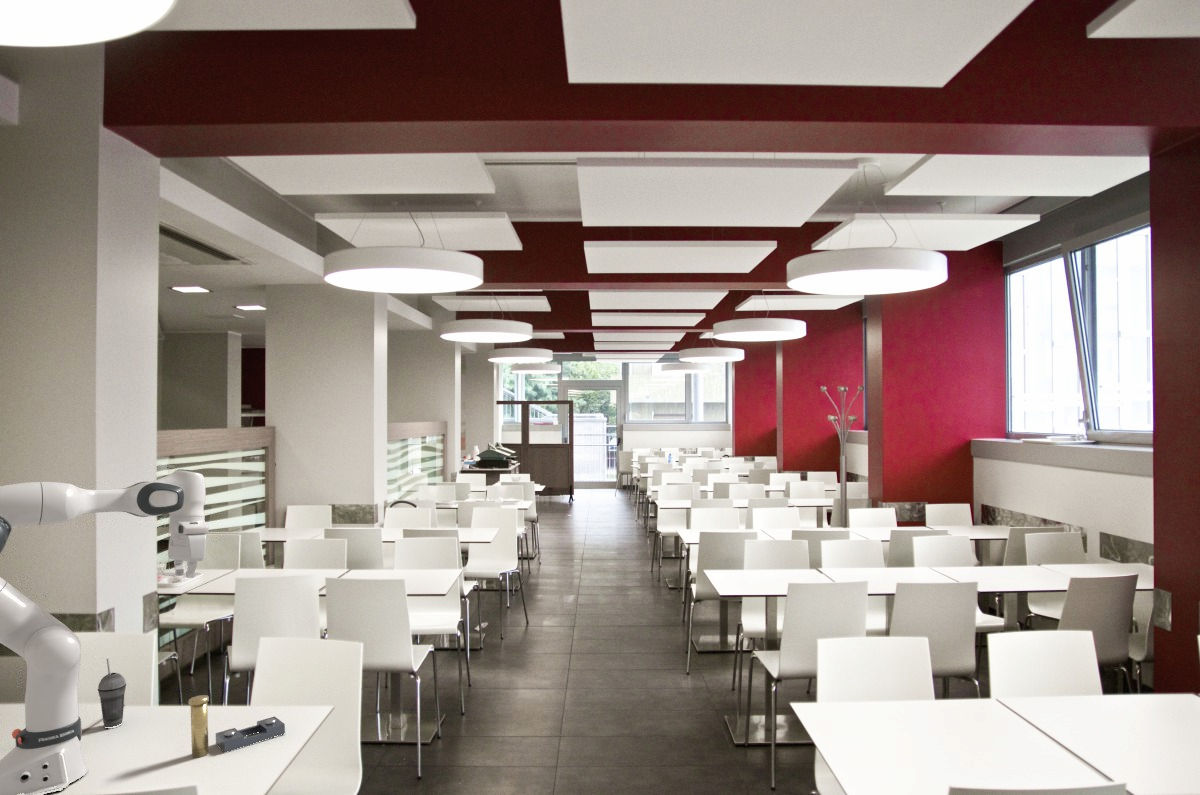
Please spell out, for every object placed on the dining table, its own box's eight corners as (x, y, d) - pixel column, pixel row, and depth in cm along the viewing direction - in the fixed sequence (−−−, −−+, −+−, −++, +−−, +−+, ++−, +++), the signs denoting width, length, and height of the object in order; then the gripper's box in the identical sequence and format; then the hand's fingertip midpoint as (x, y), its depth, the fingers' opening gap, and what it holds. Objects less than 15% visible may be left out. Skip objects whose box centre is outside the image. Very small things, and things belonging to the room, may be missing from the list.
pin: (193, 760, 204) (191, 703, 205) (188, 754, 208) (186, 698, 208) (212, 754, 208) (210, 698, 208) (207, 748, 211) (205, 693, 212)
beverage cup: (117, 730, 227) (115, 662, 227) (92, 731, 227) (91, 662, 227) (132, 720, 234) (131, 654, 234) (109, 721, 234) (107, 655, 235)
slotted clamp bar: (224, 752, 208) (224, 739, 208) (215, 744, 214) (215, 731, 214) (285, 734, 219) (284, 721, 219) (275, 726, 225) (274, 714, 225)
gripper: (163, 527, 224) (161, 575, 223) (186, 528, 210) (184, 580, 208) (187, 526, 229) (184, 573, 227) (211, 527, 214) (208, 577, 213)
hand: (184, 576), depth 217 cm, fingers open, 8 cm apart
